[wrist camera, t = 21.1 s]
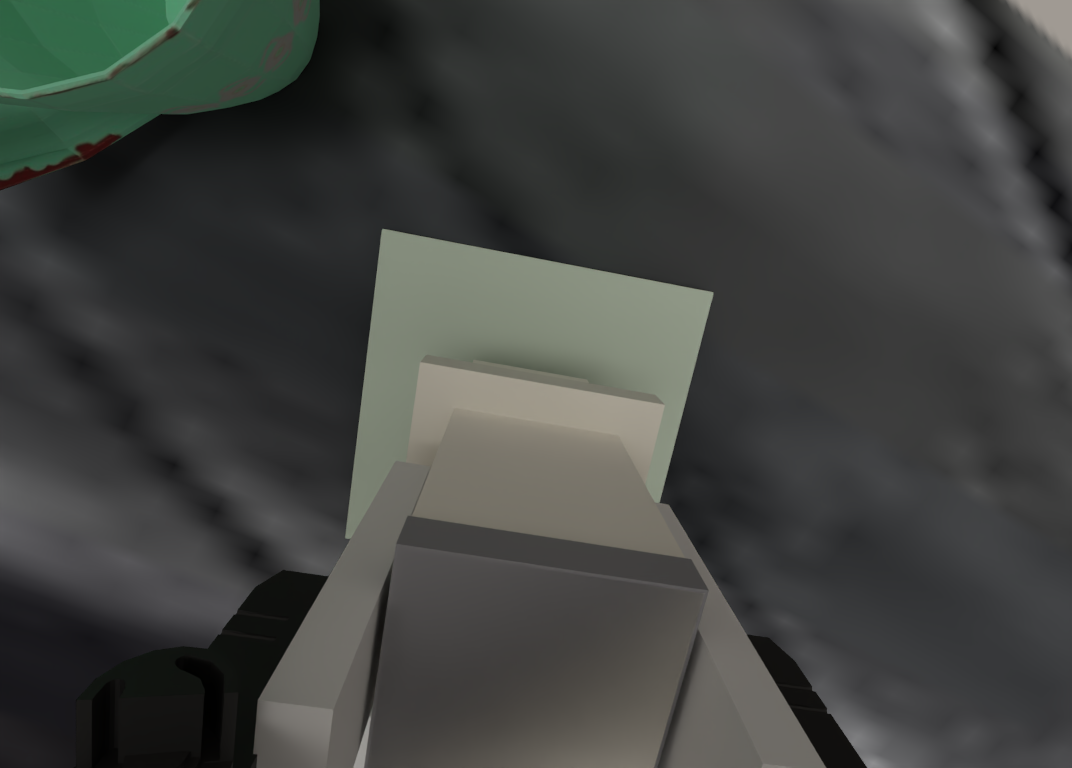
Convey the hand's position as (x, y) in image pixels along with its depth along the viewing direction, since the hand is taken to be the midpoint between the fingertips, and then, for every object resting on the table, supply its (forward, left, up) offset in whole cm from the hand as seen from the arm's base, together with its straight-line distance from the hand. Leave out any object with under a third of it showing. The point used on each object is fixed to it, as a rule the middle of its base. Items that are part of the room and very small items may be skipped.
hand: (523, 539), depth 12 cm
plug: (0, 0, -9) cm, 9 cm away
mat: (0, 0, -10) cm, 10 cm away
